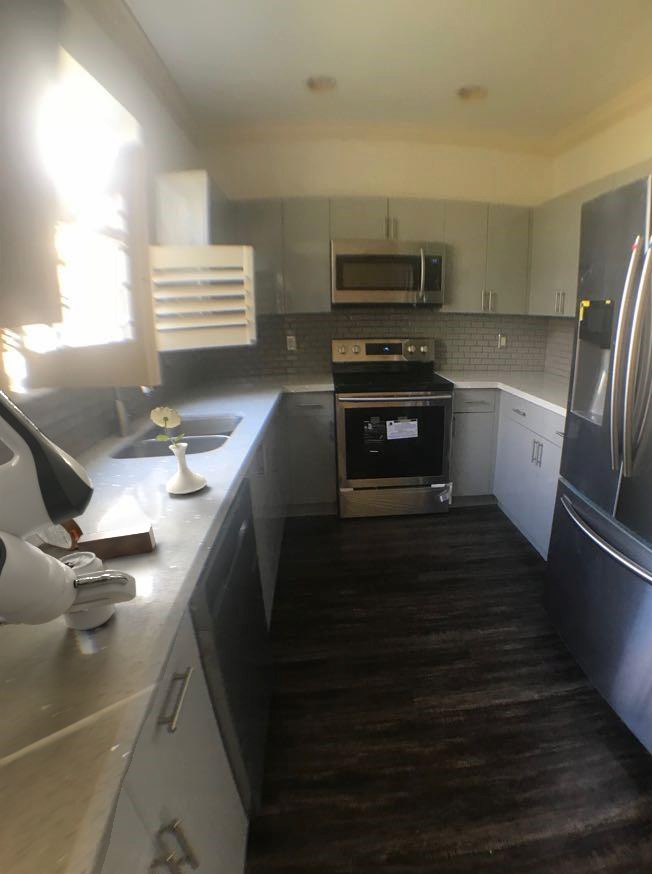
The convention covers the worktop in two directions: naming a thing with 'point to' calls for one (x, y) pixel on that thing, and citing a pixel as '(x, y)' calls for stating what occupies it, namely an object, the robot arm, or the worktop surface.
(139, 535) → the brown rectangular block
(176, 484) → the flower in vase
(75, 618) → the can
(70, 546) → the tin
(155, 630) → the worktop surface
